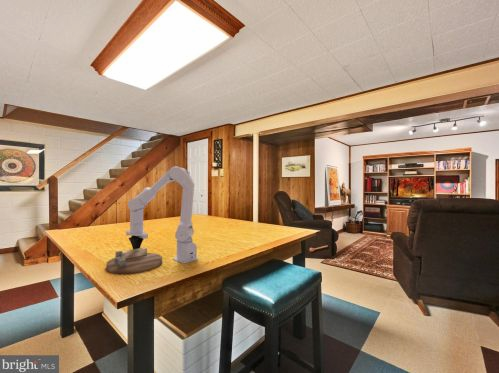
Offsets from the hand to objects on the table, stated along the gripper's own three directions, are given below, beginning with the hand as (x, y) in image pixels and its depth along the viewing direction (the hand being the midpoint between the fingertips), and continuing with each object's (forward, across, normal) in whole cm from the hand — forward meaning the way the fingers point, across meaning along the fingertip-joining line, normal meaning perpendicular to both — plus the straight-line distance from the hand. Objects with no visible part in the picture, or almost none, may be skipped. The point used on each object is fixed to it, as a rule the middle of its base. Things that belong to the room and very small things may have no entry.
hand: (136, 251), depth 113 cm
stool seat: (+3, -9, +6) cm, 11 cm away
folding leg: (+1, -4, +5) cm, 6 cm away
